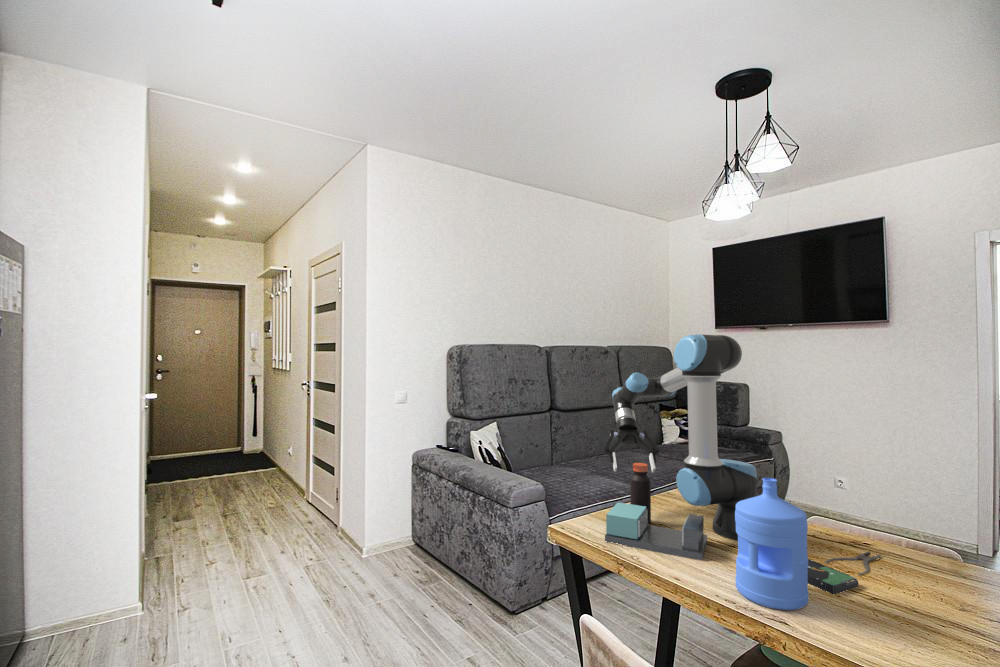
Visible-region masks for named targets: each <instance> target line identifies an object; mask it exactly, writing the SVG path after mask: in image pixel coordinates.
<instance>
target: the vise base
mask: <svg viewBox="0 0 1000 667" xmlns="http://www.w3.org/2000/svg"><path fill="white" fill-rule="evenodd" d="M605 541H607V542H606V543H608V542H613V543H618V544H622V545H621V546H623V545H627V546H626V547H628V546H631V547H630V548H634V547H635V549H639V548H640V549H639V550H644V549H645V551H649V550H650V552H655V553H660V554H661V553H662V554H666V555H671V556H676V557H682V558H687V559H692V560H697V561H703V557H704V555H705V551H706V548H707V543H708V534H704V515H700V514H693V513H689V514H688V515H687V516H686V518H685V520H684V522H683V524H682V527H681V529H673V528H667V527H661V526H656V525H651V524H649V525H647V527H646V528H645V530H644V531H643V533H642V534H641V536H640V537H638V539H632V538H626V537H621V536H615V535H610V534H604V542H605ZM613 543H612V544H613ZM618 544H617V545H618Z"/></svg>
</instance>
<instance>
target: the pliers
mask: <svg viewBox="0 0 1000 667" xmlns="http://www.w3.org/2000/svg"><path fill="white" fill-rule="evenodd" d="M870 555H871V551H867V552H862V553H860V554H858V555H855V556H854V557H834V558H830V559H827V560H825V561H824V564H825V563H827V564H829V563H830V561H831V562H833V561H834V560H835V561H863V562H862V564H863V566H864V568H865V571H863V572H859V573H857V576H859V575H860V576H863V575H862V574H865V573H867V572H868V571H869V572H870V566H869V564H870V563H872V562H874V561H873V560H876V559H878V558H880V559H881V557H882V555H881V554H876V555H872V556H870ZM880 556H881V557H880ZM871 561H872V562H871ZM876 561H877V560H876ZM869 562H870V563H869ZM869 572H868V573H869ZM868 573H867V574H868ZM865 575H866V574H865Z"/></svg>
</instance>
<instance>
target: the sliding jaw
mask: <svg viewBox="0 0 1000 667" xmlns="http://www.w3.org/2000/svg"><path fill="white" fill-rule="evenodd" d="M605 524H606V525H605V526H606V528H605V533H606V534H610V535H615V536H621V537H626V538H632V539H638V537H640V536H641V534H642V533H643V531H644V530H645V528H646V527H647V525H648V509H646V507H645V506H639V505H632V504H630V503H624V502H619V501H618V502H617V503H615V505H614V506H613V507H612V508H611V509H610V510H609V511H608V512H607V513H606V522H605ZM606 534H605V535H606Z"/></svg>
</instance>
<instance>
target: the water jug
mask: <svg viewBox="0 0 1000 667" xmlns="http://www.w3.org/2000/svg"><path fill="white" fill-rule="evenodd" d="M777 482H778V479H776V478H773V477H762V485H761V486H762V493H761V494H760V495H757V496H756V497H752V498H749V499H745V500H742V501H739V502H738V503H737V504H736V510H735V522H736V533H737V534H738V540H737V557H736V559H735V588H736V589H737V591H738V592H739V593H740V594H741V595H742V596H743V597H744V598H745V599H747V600H749V601H751V602H753V603H755V604H757V605H761V606H763V607H765V608H769V609H770V608H771V609H775V610H781V611H783V610H784V611H795V610H799V609H803V608H804V607H806V606H807V605H808V603H809V599H810V598H809V590H808V589H809V586H808V585H809V584H808V559H809V556H808V532H809V531H808V529H809V528H808V525H809V524H808V520H807V519H808V516H807V513H806V512H805V511H804V510H803V509H802V508H800V507H798V506H795V505H794V504H792V503H791V502H789V501H787V500H785V499H783V498H780V497H779V496H778V486H777Z"/></svg>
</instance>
